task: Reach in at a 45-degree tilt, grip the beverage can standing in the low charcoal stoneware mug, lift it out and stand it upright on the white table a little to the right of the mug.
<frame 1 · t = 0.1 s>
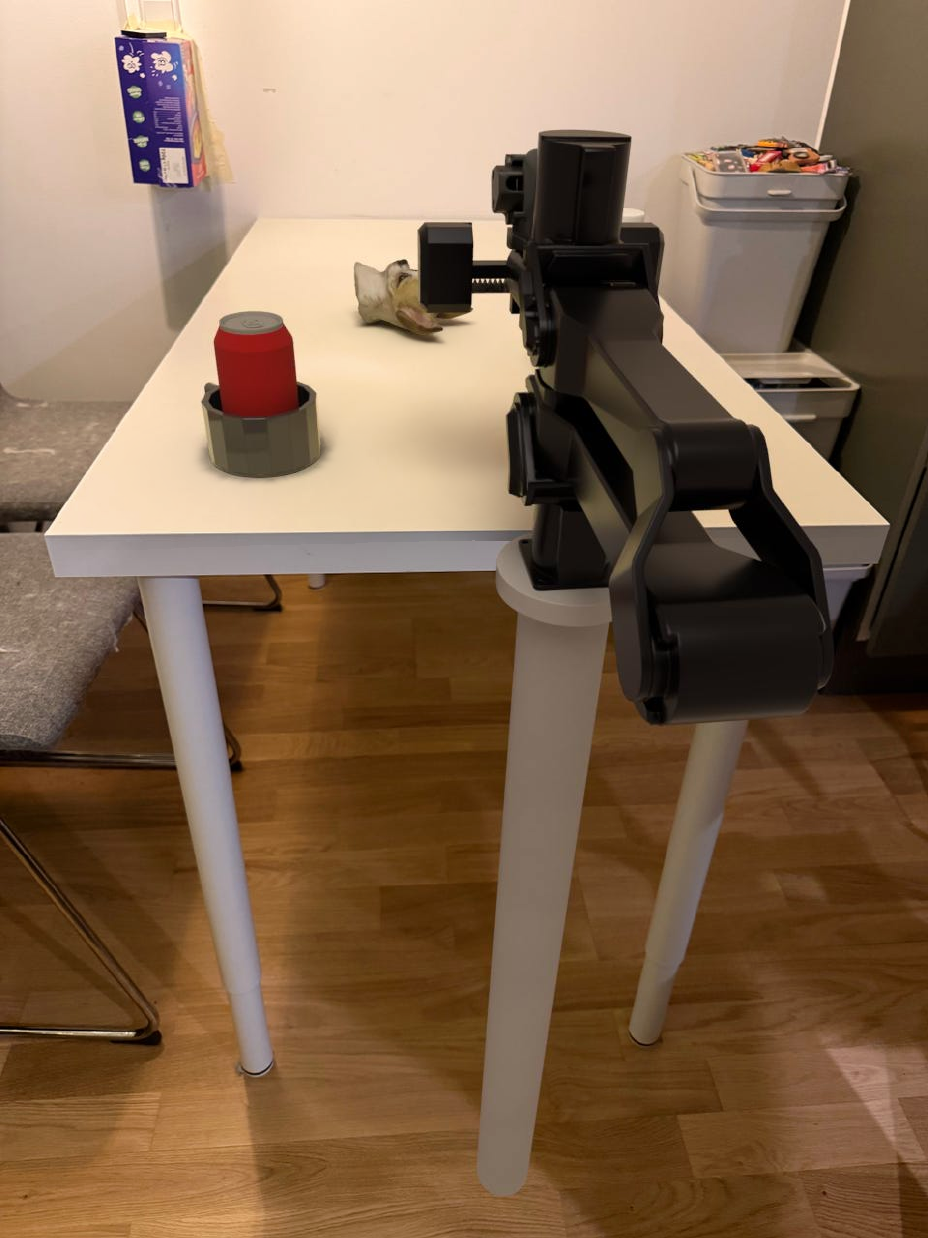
hand: (519, 243, 75), 18 cm above the table, tool horizontal, fingers open, 9 cm apart
beverage can: (265, 452, 82), resting on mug
bottle: (606, 373, 103), on the table
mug: (266, 453, 82), on the table
ceramic sculpture: (406, 329, 115), on the table
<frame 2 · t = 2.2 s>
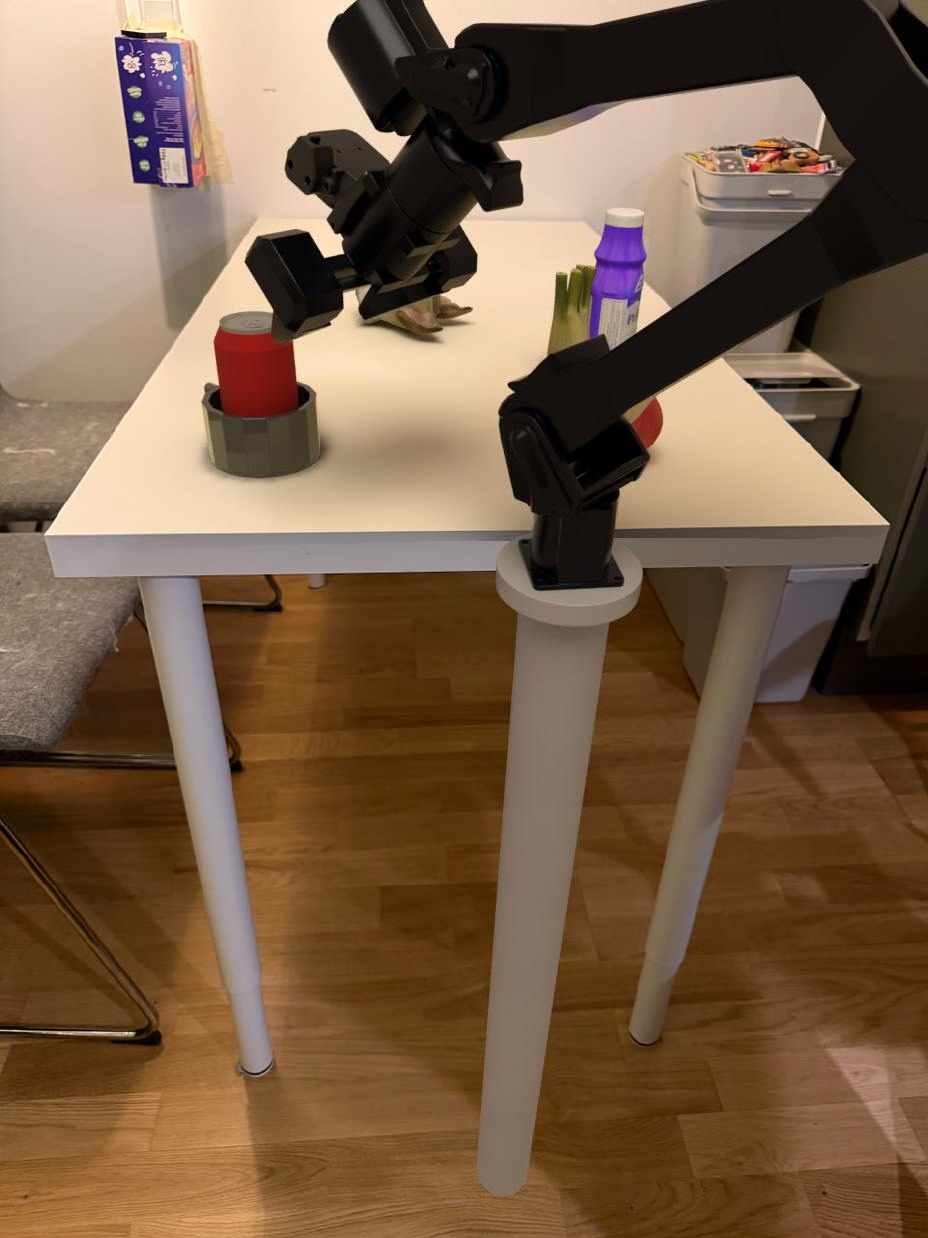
hand: (320, 326, 70), 14 cm above the table, tool tilted 45°, fingers open, 9 cm apart
nothing on the table moved.
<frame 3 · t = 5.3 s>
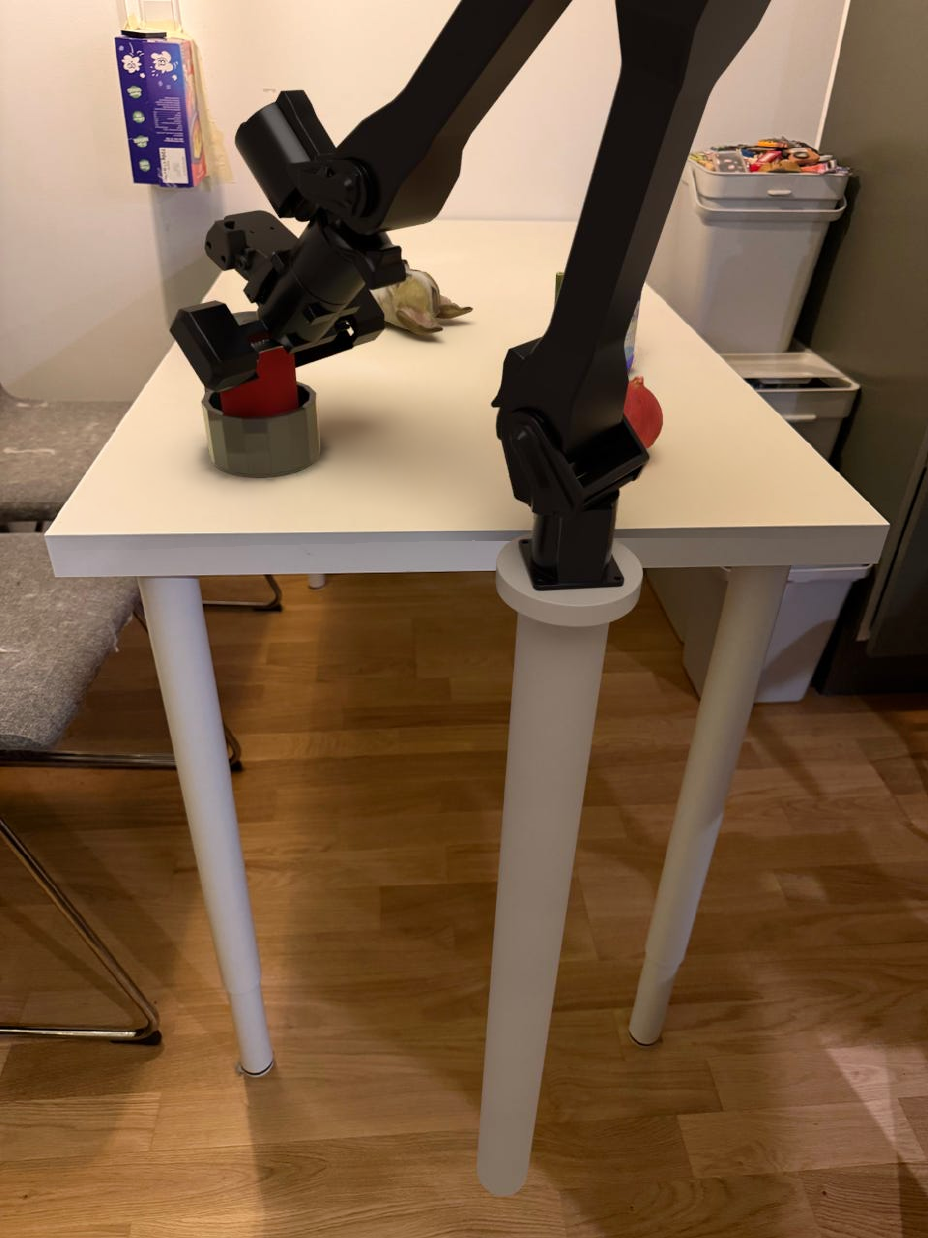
hand: (248, 377, 79), 7 cm above the table, tool tilted 45°, fingers closed on beverage can, 7 cm apart
beverage can: (265, 452, 82), resting on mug, touching gripper
everything else where it was.
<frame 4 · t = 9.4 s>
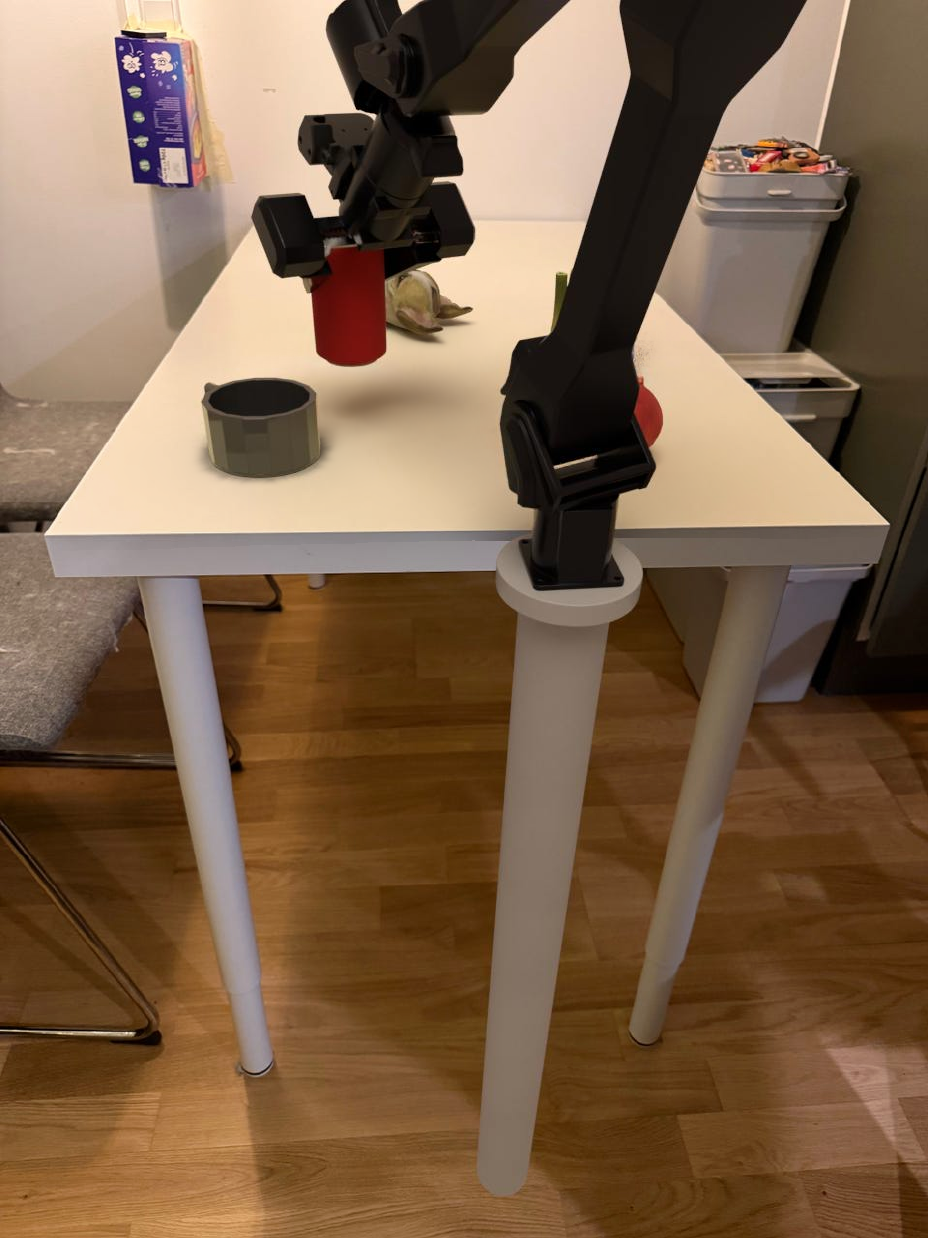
hand: (341, 283, 82), 13 cm above the table, tool tilted 45°, fingers closed on beverage can, 7 cm apart
beverage can: (352, 360, 84), point 6 cm above the table, touching gripper
everything else where it was.
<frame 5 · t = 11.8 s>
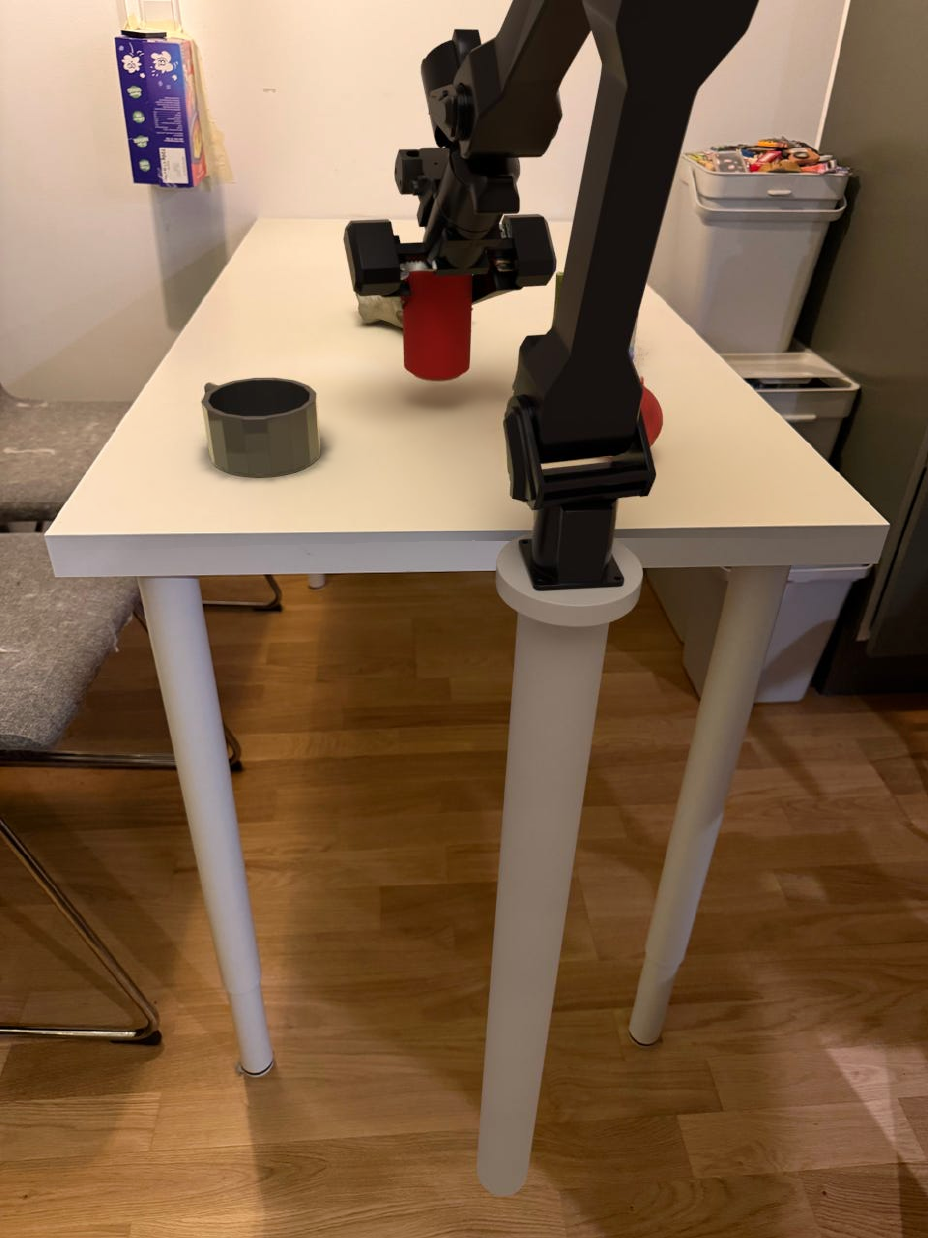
hand: (433, 303, 87), 10 cm above the table, tool tilted 45°, fingers closed on beverage can, 7 cm apart
beverage can: (436, 375, 90), point 4 cm above the table, touching gripper
everything else where it was.
when the fingers open (7 cm above the table, at t = 13.5 s): beverage can stays where it is, on the table.
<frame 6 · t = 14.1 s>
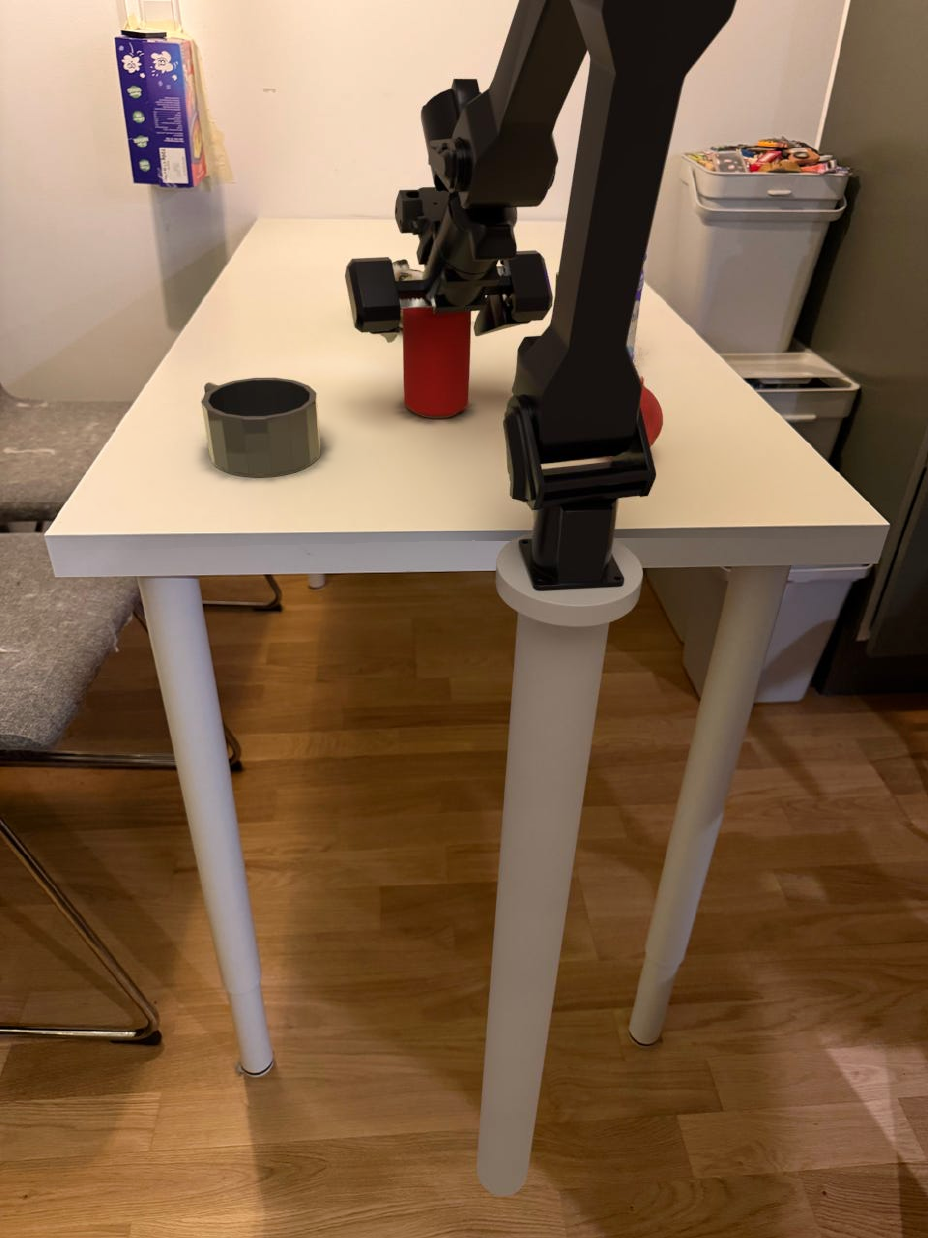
hand: (432, 334, 89), 7 cm above the table, tool tilted 45°, fingers open, 9 cm apart
beverage can: (436, 410, 92), on the table
everything else where it was.
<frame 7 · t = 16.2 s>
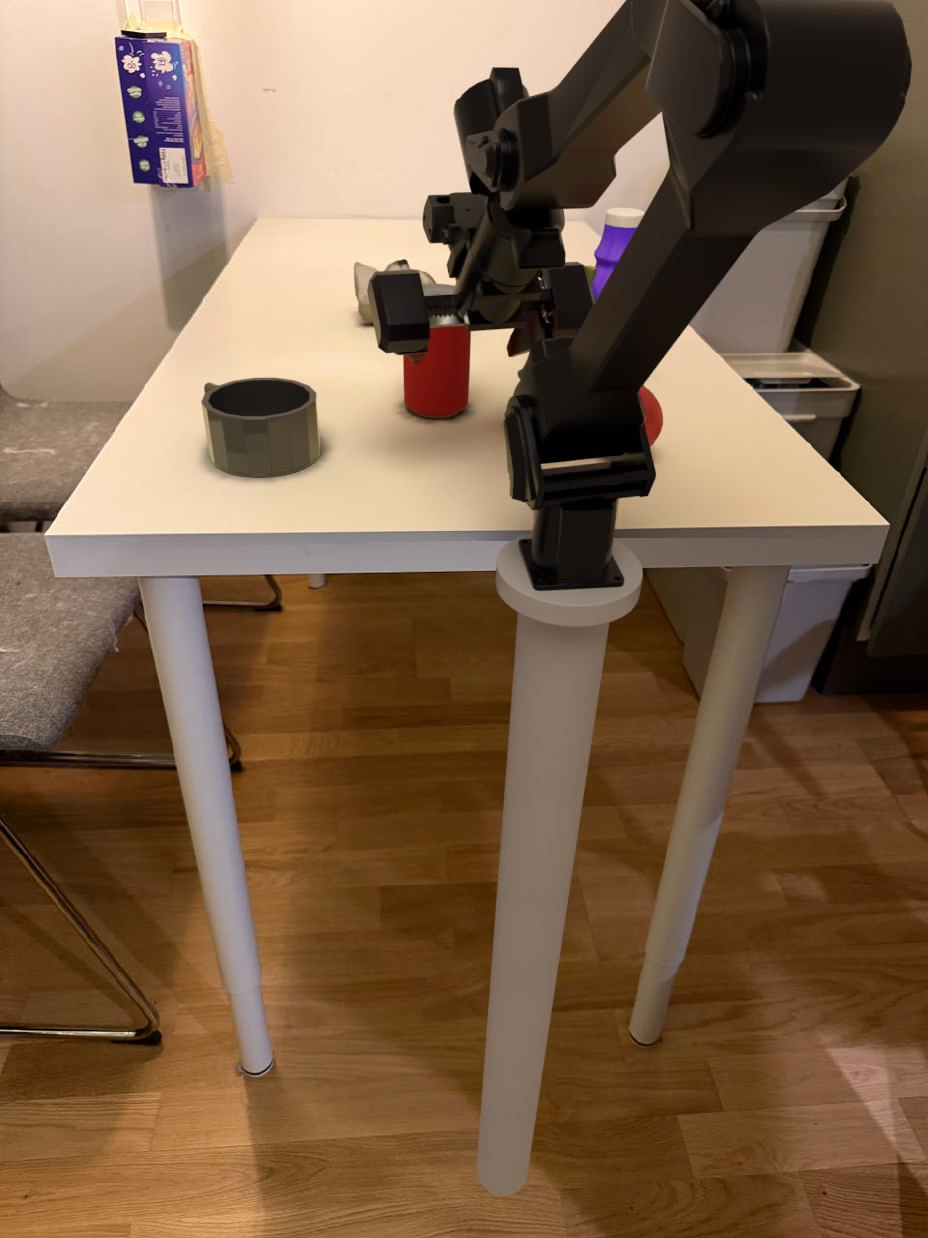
hand: (462, 355, 81), 8 cm above the table, tool tilted 45°, fingers open, 9 cm apart
nothing on the table moved.
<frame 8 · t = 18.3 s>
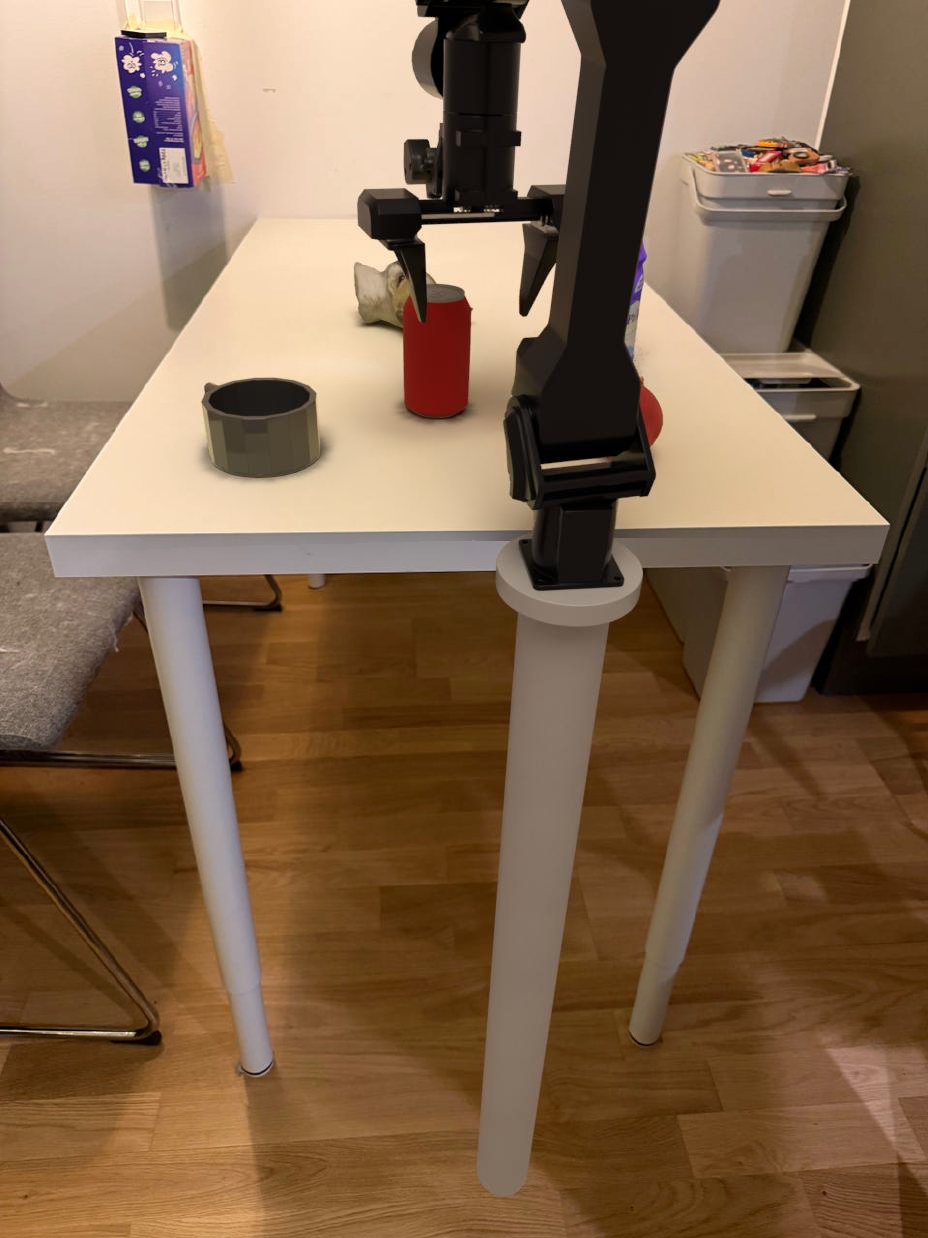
hand: (473, 318, 76), 12 cm above the table, tool pointing down, fingers open, 9 cm apart
nothing on the table moved.
at the end: beverage can inside the target area (0.1 cm from its centre), on the table; beverage can tilted 0°; beverage can touching table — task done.
